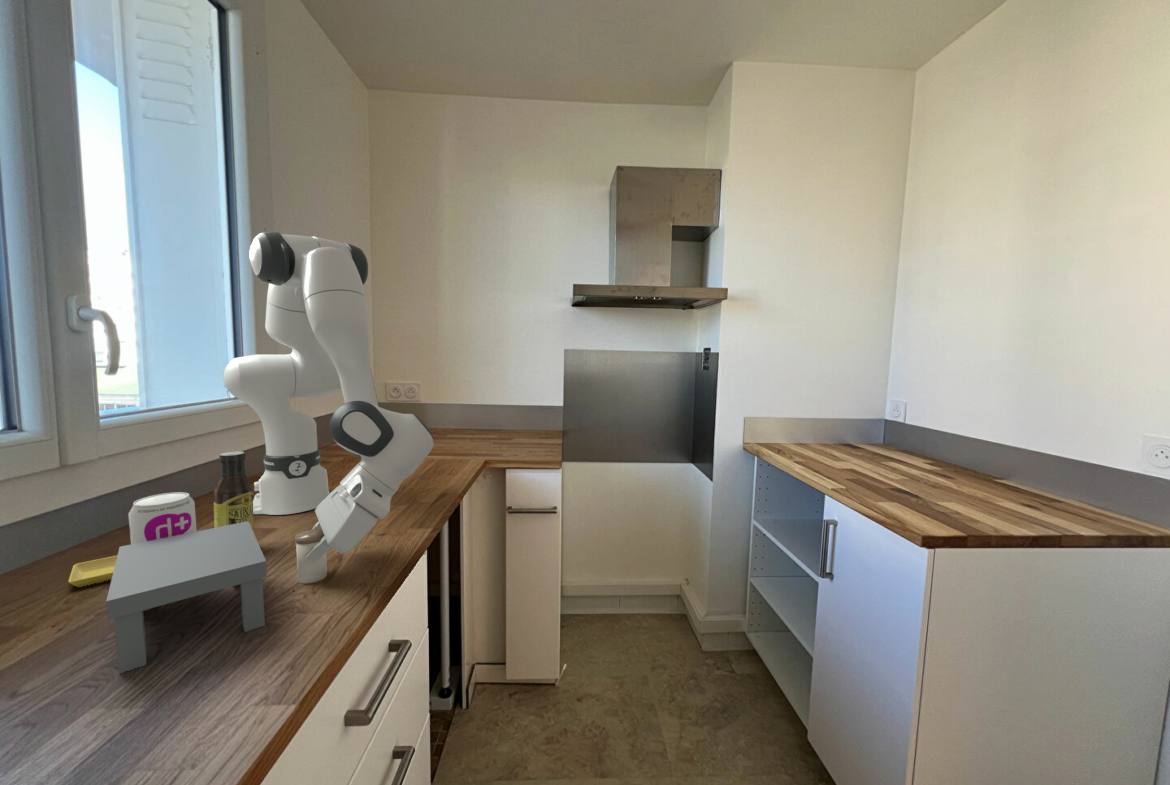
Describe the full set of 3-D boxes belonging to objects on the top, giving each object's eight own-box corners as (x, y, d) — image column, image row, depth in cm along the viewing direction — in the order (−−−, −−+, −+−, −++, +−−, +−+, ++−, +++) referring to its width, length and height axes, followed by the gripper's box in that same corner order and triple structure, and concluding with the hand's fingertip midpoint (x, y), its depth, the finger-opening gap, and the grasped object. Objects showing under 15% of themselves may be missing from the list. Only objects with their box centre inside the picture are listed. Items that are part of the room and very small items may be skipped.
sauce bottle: (233, 559, 87) (227, 458, 85) (206, 555, 88) (200, 456, 86) (263, 544, 93) (258, 450, 91) (238, 541, 94) (233, 449, 93)
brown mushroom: (294, 576, 81) (292, 533, 80) (324, 568, 84) (322, 526, 83) (300, 586, 77) (298, 542, 77) (330, 577, 80) (328, 534, 80)
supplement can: (203, 581, 78) (197, 498, 77) (137, 601, 72) (129, 510, 71) (195, 566, 84) (190, 488, 82) (133, 583, 78) (125, 498, 76)
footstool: (125, 608, 70) (119, 546, 69) (251, 574, 81) (248, 521, 80) (113, 678, 56) (106, 601, 55) (269, 625, 66) (266, 560, 65)
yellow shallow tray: (142, 560, 87) (141, 549, 87) (141, 576, 81) (140, 565, 80) (74, 575, 81) (73, 564, 81) (68, 594, 75) (67, 582, 74)
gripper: (342, 468, 91) (287, 525, 87) (363, 495, 75) (296, 567, 70) (367, 485, 94) (315, 541, 90) (392, 515, 78) (330, 585, 73)
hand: (307, 553), depth 80 cm, fingers open, 5 cm apart
